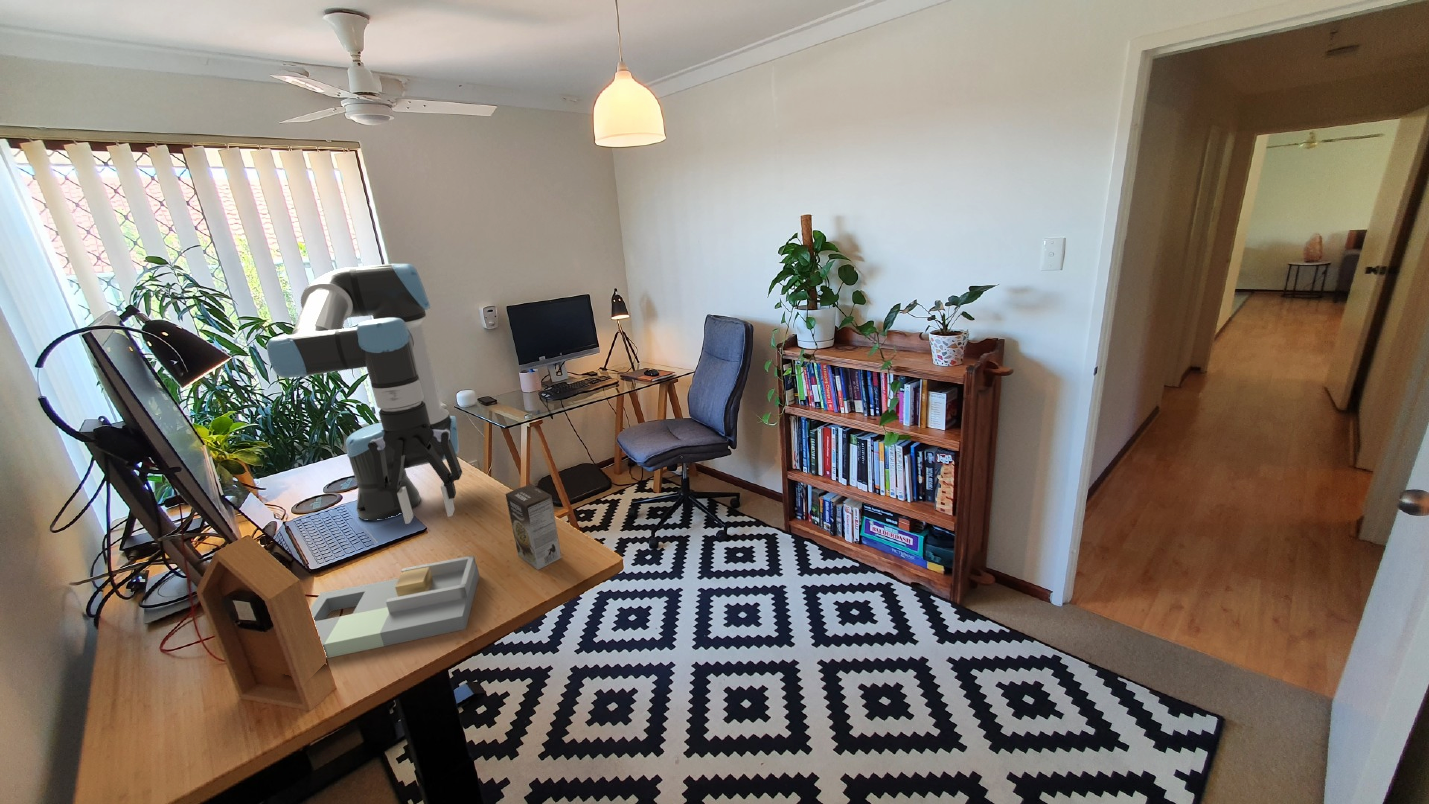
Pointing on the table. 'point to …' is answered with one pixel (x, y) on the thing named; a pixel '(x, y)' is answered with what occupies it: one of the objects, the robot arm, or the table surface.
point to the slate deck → (397, 609)
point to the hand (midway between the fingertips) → (430, 516)
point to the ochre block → (414, 582)
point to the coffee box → (534, 525)
